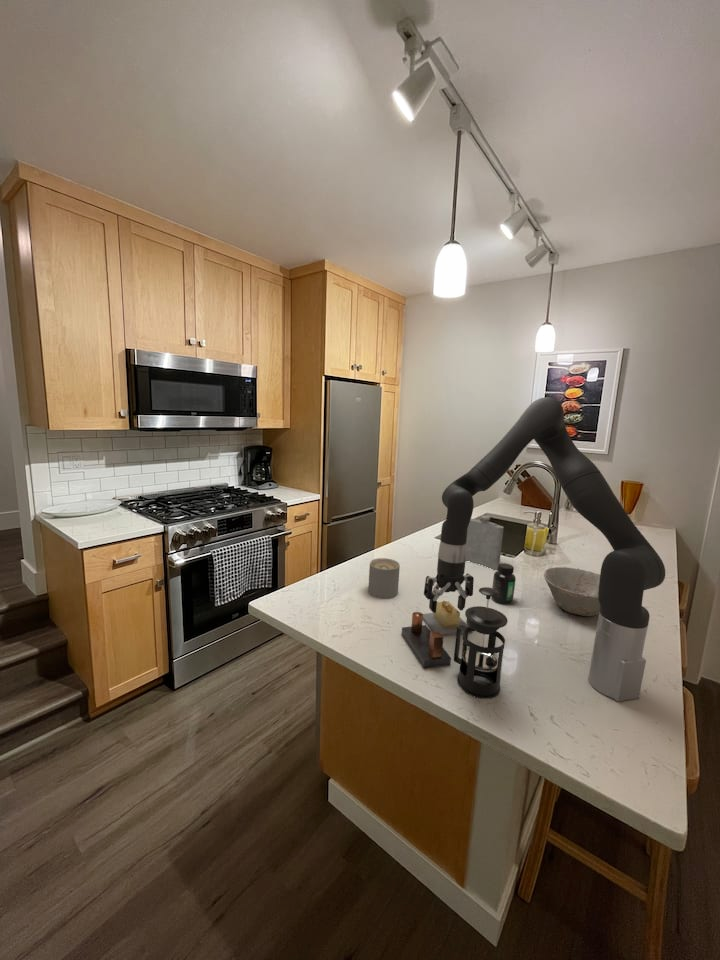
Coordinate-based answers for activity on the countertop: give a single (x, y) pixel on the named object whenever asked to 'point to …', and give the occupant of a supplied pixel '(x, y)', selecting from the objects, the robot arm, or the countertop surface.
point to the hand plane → (425, 643)
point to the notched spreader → (484, 542)
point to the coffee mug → (383, 578)
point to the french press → (481, 649)
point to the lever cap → (447, 615)
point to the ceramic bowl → (574, 589)
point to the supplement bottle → (504, 584)
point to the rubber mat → (436, 626)
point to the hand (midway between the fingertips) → (446, 610)
